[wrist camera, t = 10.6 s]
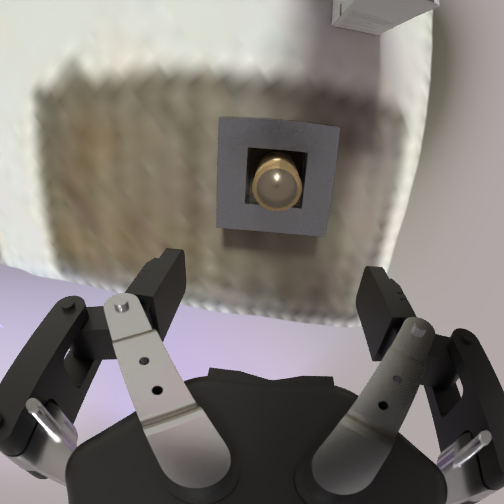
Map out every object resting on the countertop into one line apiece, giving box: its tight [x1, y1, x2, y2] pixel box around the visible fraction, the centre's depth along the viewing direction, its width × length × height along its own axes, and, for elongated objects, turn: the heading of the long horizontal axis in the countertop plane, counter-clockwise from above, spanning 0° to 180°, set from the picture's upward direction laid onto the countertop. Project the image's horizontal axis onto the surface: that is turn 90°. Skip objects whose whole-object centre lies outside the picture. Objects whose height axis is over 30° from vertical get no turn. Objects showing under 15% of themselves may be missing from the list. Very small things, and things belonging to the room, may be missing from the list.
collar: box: [216, 117, 340, 237], centre depth 31 cm, size 12×12×4 cm
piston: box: [252, 152, 302, 211], centre depth 29 cm, size 4×4×8 cm
